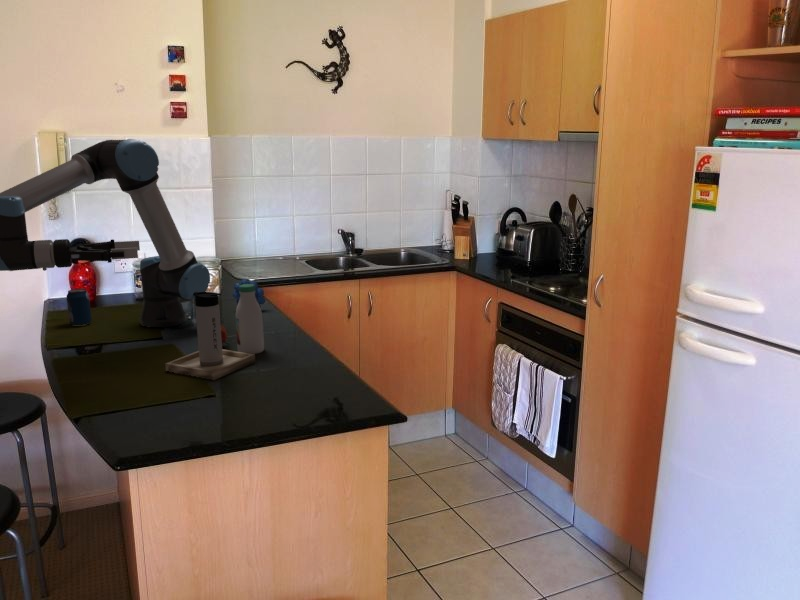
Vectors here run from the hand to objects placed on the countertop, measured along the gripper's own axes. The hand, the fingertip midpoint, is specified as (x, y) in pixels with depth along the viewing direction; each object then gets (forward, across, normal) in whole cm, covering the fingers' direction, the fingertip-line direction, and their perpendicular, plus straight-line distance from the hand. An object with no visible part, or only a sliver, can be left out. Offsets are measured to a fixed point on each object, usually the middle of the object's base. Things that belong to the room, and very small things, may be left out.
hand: (138, 249), depth 198 cm
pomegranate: (+19, -6, -32) cm, 38 cm away
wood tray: (+16, +13, -32) cm, 38 cm away
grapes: (+33, -47, -32) cm, 66 cm away
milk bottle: (+28, +2, -32) cm, 43 cm away
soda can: (-23, -50, -32) cm, 63 cm away
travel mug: (+16, +13, -31) cm, 37 cm away
